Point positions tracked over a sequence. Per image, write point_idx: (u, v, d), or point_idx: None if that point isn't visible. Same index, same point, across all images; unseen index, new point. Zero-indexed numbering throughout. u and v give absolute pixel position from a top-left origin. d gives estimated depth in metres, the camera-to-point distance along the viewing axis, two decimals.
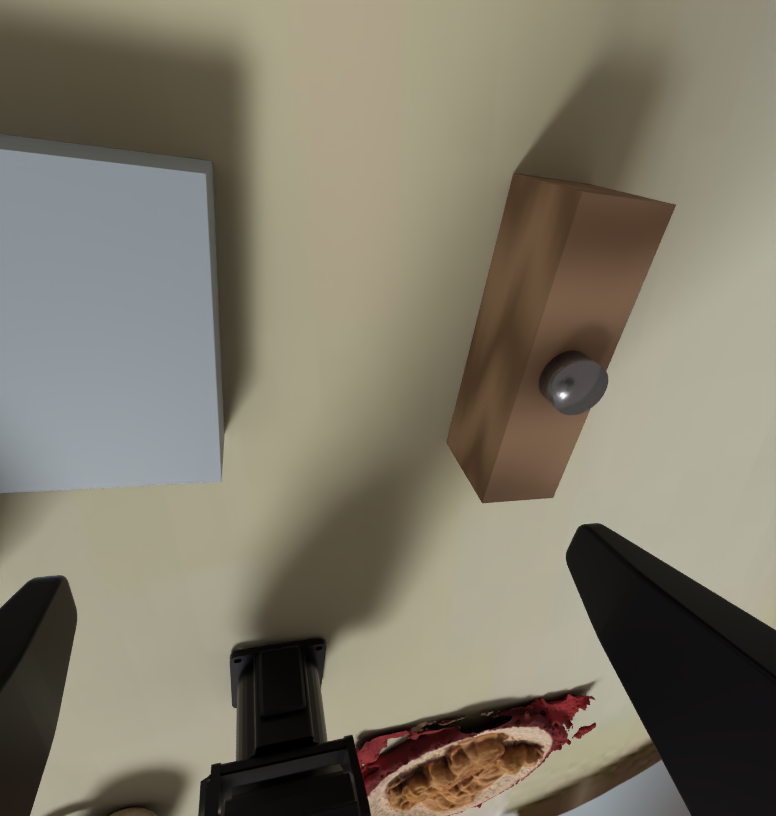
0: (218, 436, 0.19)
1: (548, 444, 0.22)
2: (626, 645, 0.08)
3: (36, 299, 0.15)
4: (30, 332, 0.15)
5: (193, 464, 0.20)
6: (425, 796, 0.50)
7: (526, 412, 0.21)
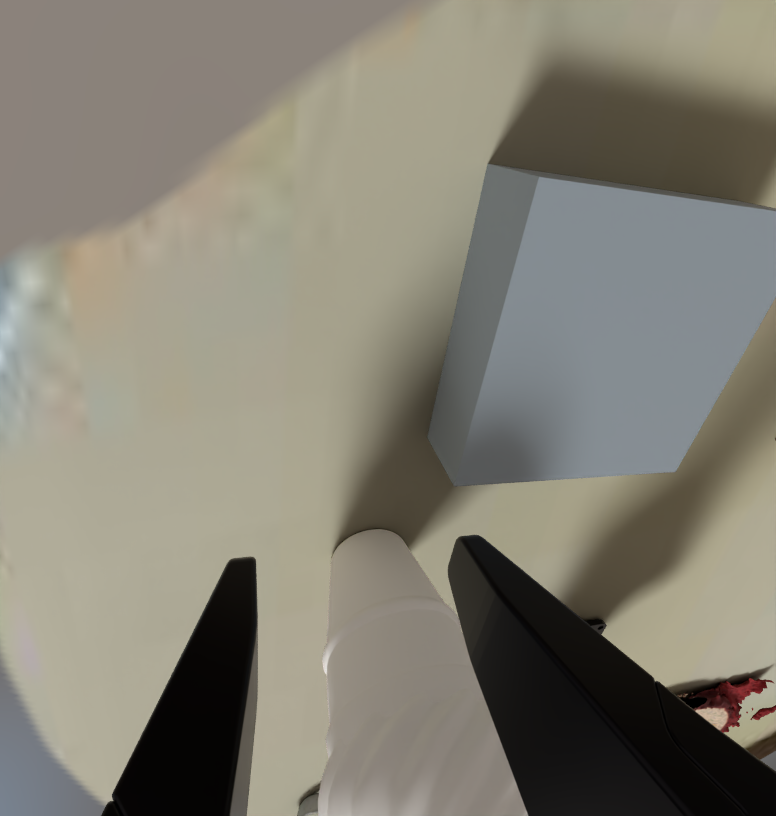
0: (696, 432, 0.22)
1: None
2: (491, 670, 0.08)
3: (660, 319, 0.18)
4: (640, 346, 0.19)
5: (667, 456, 0.23)
6: None
7: None
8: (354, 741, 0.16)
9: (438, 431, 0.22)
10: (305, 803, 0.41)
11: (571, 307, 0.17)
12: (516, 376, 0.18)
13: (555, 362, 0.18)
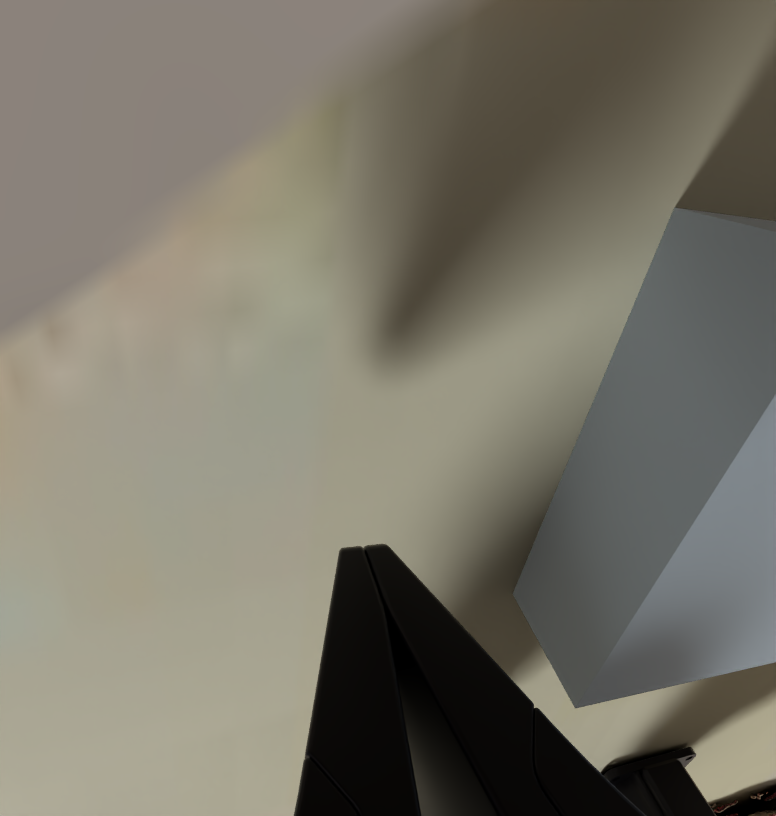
0: None
1: None
2: None
3: None
4: None
5: None
6: None
7: None
8: None
9: (538, 600, 0.14)
10: None
11: None
12: (708, 568, 0.10)
13: (773, 543, 0.11)
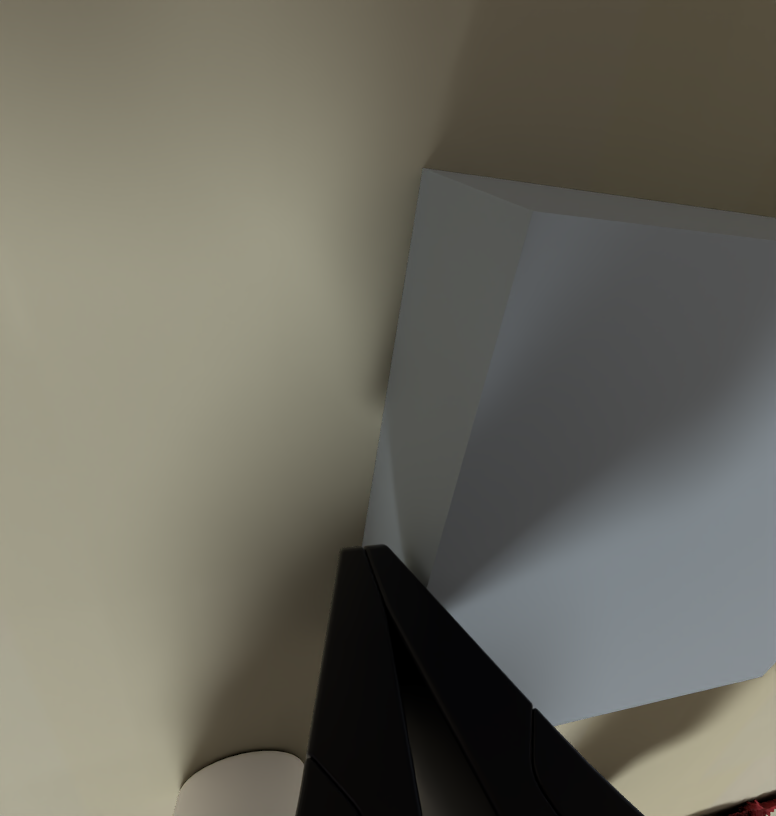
0: None
1: None
2: None
3: None
4: (738, 535, 0.09)
5: (753, 663, 0.13)
6: None
7: None
8: None
9: None
10: None
11: (608, 493, 0.07)
12: (486, 615, 0.08)
13: (569, 583, 0.09)
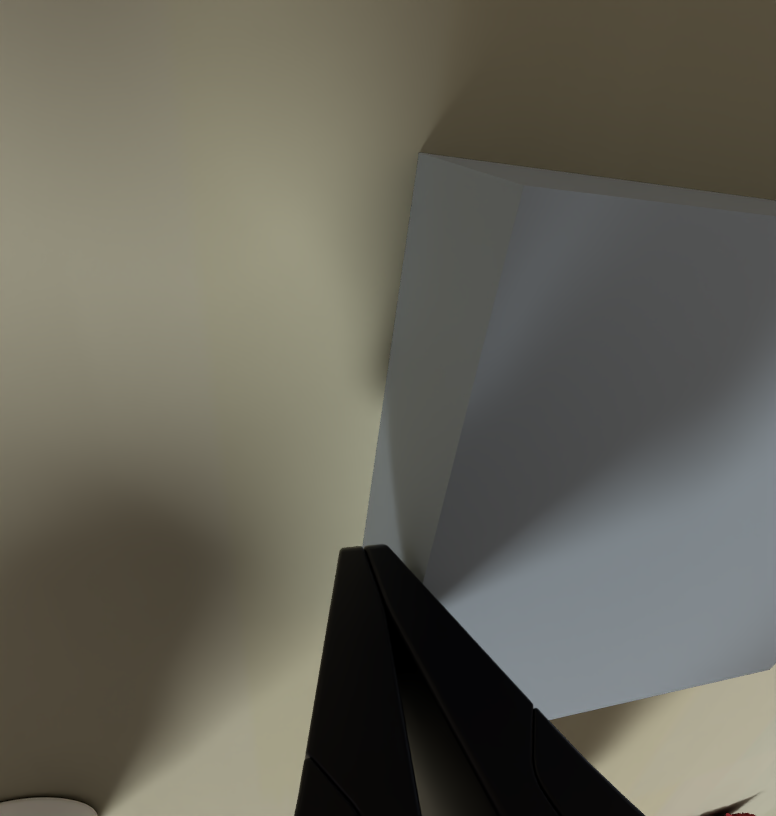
0: None
1: None
2: None
3: None
4: (742, 523, 0.09)
5: (760, 655, 0.13)
6: None
7: None
8: None
9: None
10: None
11: (607, 479, 0.07)
12: (486, 604, 0.08)
13: (570, 572, 0.09)
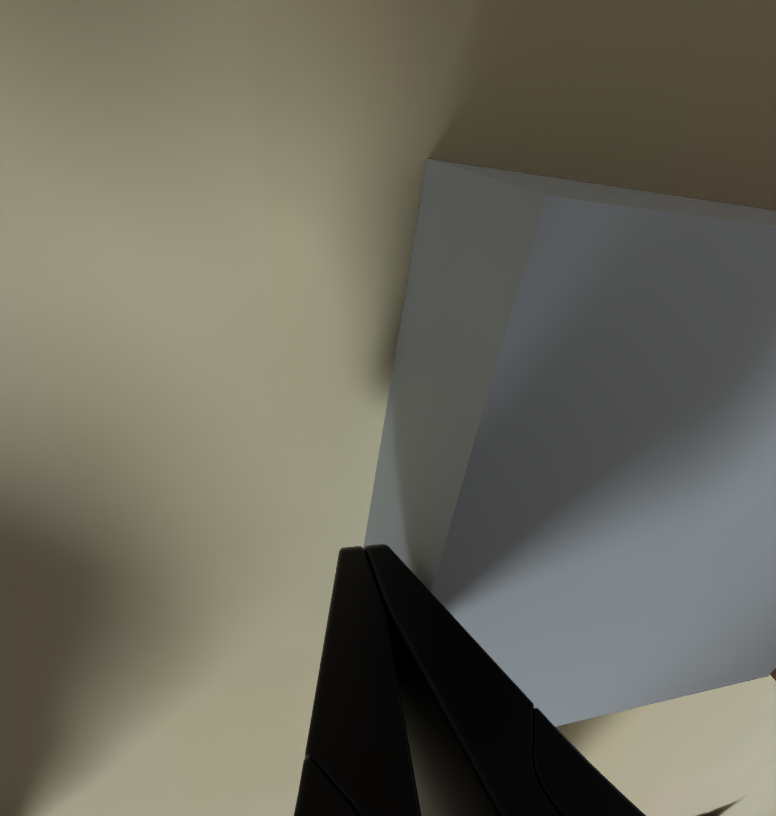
0: None
1: None
2: None
3: None
4: (747, 531, 0.09)
5: (759, 662, 0.13)
6: None
7: None
8: None
9: None
10: None
11: (617, 487, 0.07)
12: (493, 612, 0.08)
13: (577, 580, 0.09)
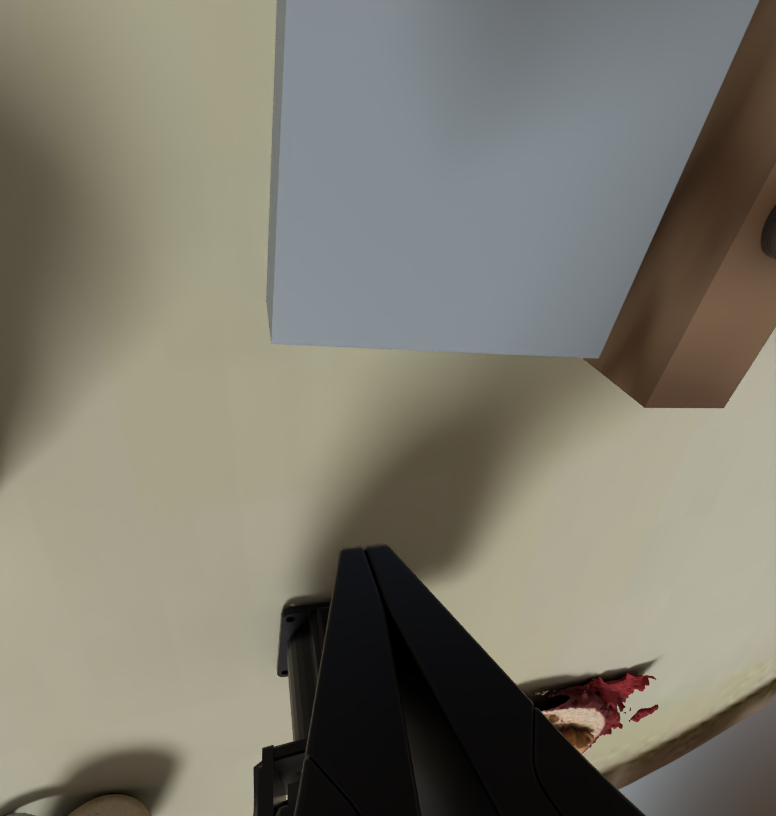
0: (623, 298, 0.17)
1: (744, 326, 0.17)
2: None
3: (554, 81, 0.12)
4: (527, 128, 0.13)
5: (585, 332, 0.17)
6: None
7: (735, 272, 0.15)
8: None
9: (268, 281, 0.16)
10: None
11: (406, 29, 0.11)
12: (334, 155, 0.12)
13: (396, 138, 0.12)
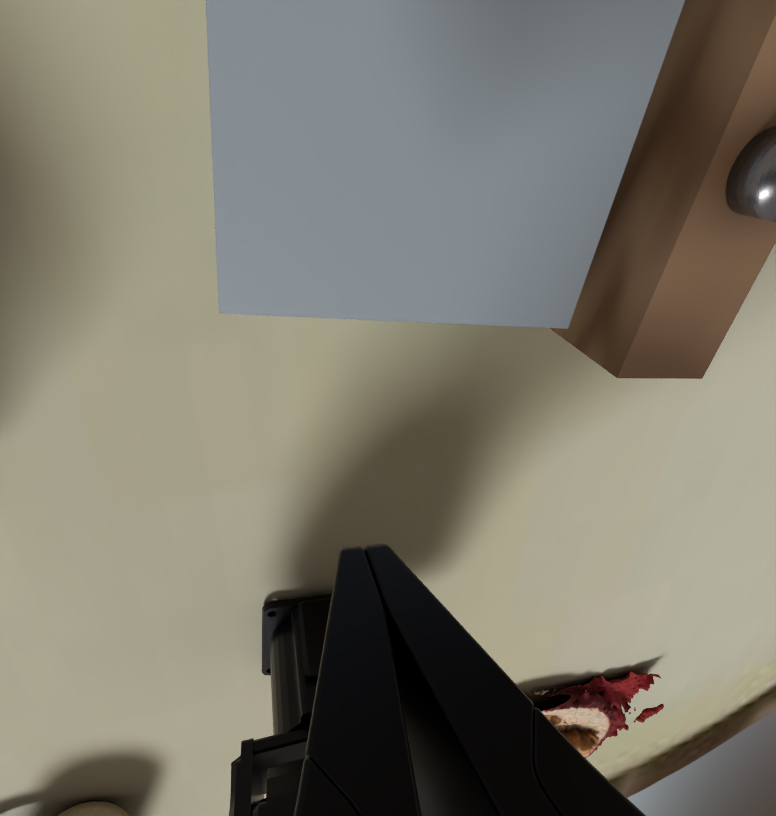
0: (588, 264, 0.16)
1: (716, 289, 0.16)
2: None
3: (495, 27, 0.12)
4: (470, 80, 0.12)
5: (551, 300, 0.16)
6: None
7: (701, 230, 0.15)
8: None
9: None
10: None
11: None
12: (268, 109, 0.12)
13: (332, 92, 0.12)
